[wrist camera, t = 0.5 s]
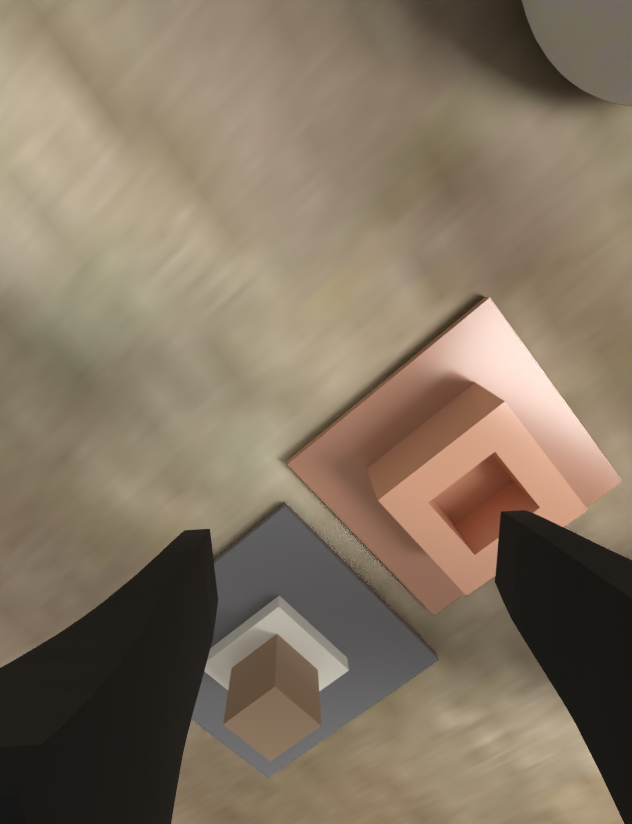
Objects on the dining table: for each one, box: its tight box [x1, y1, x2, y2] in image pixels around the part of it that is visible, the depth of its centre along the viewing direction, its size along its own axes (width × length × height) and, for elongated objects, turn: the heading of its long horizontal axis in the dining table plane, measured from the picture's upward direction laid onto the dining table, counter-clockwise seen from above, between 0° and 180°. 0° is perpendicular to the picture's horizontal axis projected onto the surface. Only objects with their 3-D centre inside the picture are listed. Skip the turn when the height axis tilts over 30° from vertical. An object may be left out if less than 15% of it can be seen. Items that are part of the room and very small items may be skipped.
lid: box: [205, 596, 349, 761], centre depth 22 cm, size 5×5×4 cm
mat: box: [191, 503, 439, 778], centre depth 24 cm, size 12×12×1 cm
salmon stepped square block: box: [287, 297, 622, 615], centre depth 20 cm, size 11×11×4 cm
